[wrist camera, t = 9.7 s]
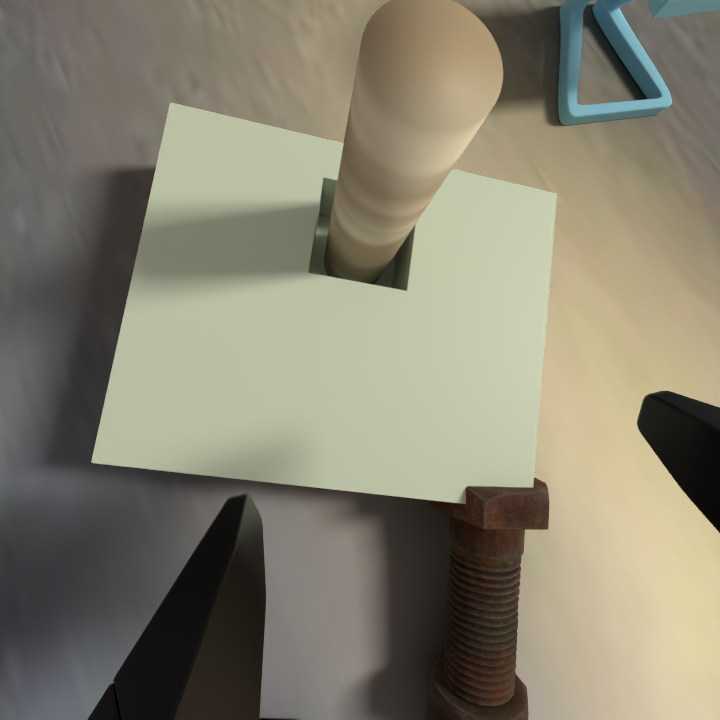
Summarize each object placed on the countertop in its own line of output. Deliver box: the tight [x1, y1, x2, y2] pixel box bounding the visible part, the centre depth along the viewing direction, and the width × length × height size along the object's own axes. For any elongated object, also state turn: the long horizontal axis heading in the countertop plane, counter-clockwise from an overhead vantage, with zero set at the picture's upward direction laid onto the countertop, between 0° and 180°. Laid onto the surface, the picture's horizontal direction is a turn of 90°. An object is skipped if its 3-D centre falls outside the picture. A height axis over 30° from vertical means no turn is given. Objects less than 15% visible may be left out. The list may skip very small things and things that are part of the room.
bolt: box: [426, 478, 549, 720], centre depth 19 cm, size 6×5×15 cm
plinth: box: [91, 102, 557, 504], centre depth 19 cm, size 15×18×4 cm
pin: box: [324, 0, 503, 285], centre depth 15 cm, size 3×3×12 cm
